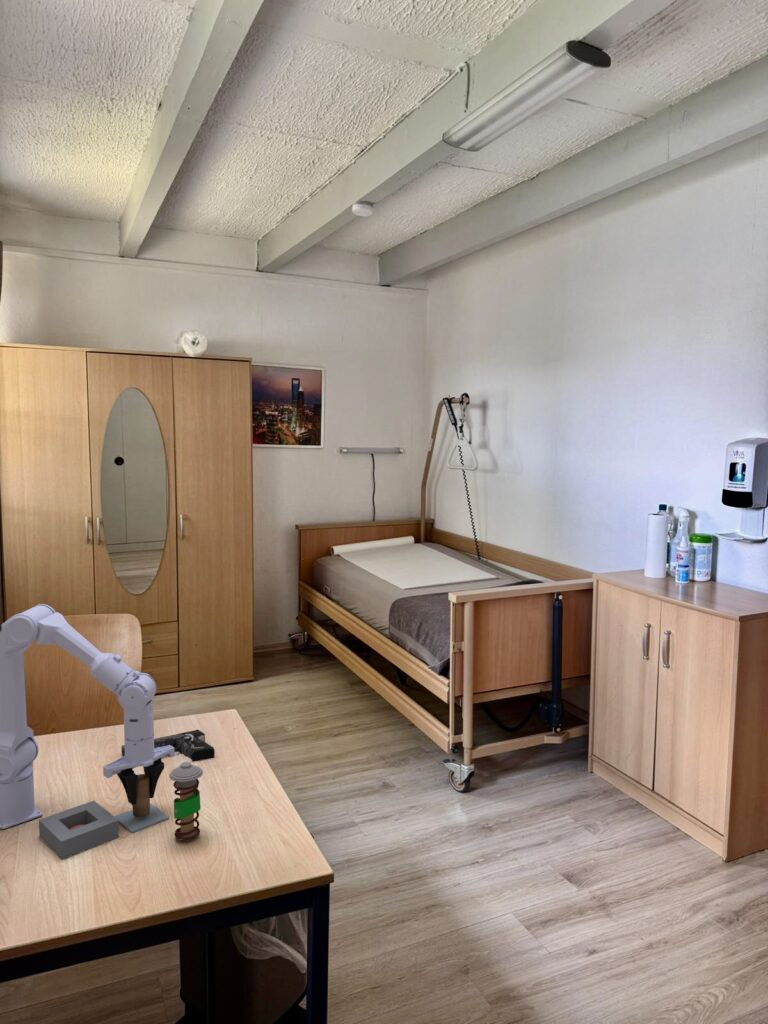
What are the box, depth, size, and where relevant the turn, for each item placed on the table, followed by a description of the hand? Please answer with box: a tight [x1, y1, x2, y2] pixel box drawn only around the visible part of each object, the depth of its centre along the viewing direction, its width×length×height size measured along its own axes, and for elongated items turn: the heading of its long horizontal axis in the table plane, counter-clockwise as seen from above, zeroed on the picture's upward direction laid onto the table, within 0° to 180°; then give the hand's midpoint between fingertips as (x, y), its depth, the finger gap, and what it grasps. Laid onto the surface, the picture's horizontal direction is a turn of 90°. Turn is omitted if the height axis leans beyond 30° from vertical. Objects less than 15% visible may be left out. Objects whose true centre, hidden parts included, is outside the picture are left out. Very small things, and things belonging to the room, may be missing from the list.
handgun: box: [120, 729, 215, 762], centre depth 182 cm, size 20×3×14 cm
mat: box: [113, 803, 170, 834], centre depth 151 cm, size 8×8×1 cm
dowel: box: [131, 773, 151, 817], centre depth 151 cm, size 3×3×8 cm
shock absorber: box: [168, 761, 204, 842], centre depth 143 cm, size 6×6×15 cm
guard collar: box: [38, 800, 120, 860], centre depth 144 cm, size 11×11×4 cm
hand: (140, 799), depth 151 cm, fingers closed on dowel, 3 cm apart
